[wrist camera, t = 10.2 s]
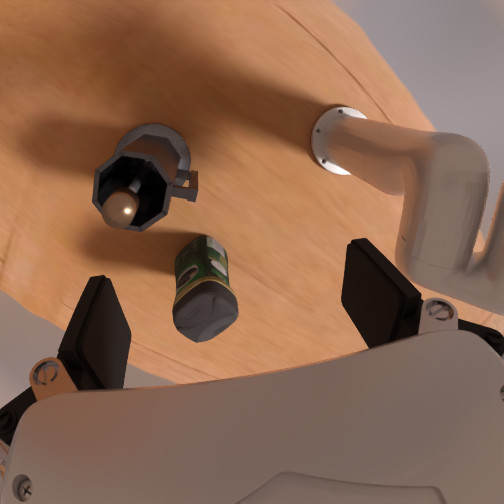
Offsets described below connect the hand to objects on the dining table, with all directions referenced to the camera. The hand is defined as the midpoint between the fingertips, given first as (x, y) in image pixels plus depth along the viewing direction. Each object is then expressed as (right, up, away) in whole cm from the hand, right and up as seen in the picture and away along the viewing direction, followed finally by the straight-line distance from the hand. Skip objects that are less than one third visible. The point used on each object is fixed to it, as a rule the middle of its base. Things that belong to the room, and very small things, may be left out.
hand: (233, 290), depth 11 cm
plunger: (-15, +16, +33) cm, 40 cm away
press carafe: (-16, +16, +34) cm, 41 cm away
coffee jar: (-9, 0, +45) cm, 46 cm away
